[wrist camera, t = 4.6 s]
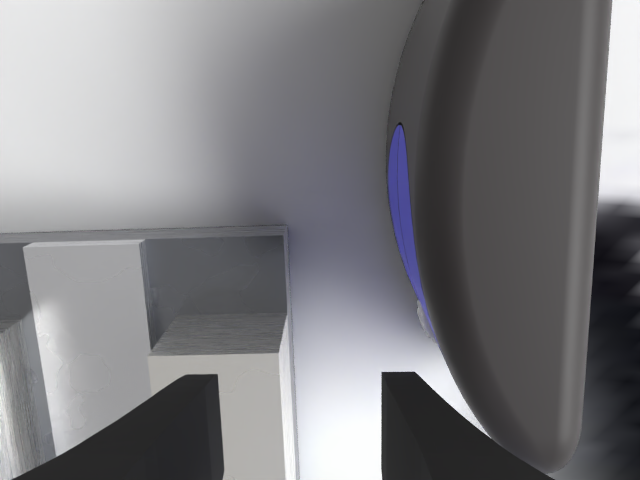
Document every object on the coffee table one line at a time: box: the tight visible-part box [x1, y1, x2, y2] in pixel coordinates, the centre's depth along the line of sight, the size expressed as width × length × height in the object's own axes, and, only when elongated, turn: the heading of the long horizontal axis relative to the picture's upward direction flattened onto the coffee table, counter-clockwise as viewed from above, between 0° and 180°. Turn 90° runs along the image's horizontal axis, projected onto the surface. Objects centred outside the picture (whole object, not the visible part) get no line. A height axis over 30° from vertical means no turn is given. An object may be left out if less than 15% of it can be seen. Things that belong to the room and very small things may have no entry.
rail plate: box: [0, 225, 300, 480], centre depth 18 cm, size 13×12×5 cm
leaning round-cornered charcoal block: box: [386, 0, 612, 474], centre depth 15 cm, size 13×4×8 cm, turn 2°
